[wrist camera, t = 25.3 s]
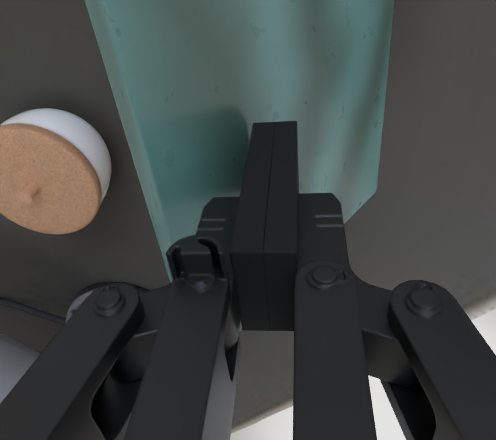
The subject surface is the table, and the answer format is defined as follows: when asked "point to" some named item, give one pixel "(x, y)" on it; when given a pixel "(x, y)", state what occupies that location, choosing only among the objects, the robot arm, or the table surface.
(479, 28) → the table surface
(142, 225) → the table surface
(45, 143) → the trinket box
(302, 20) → the chest lid
